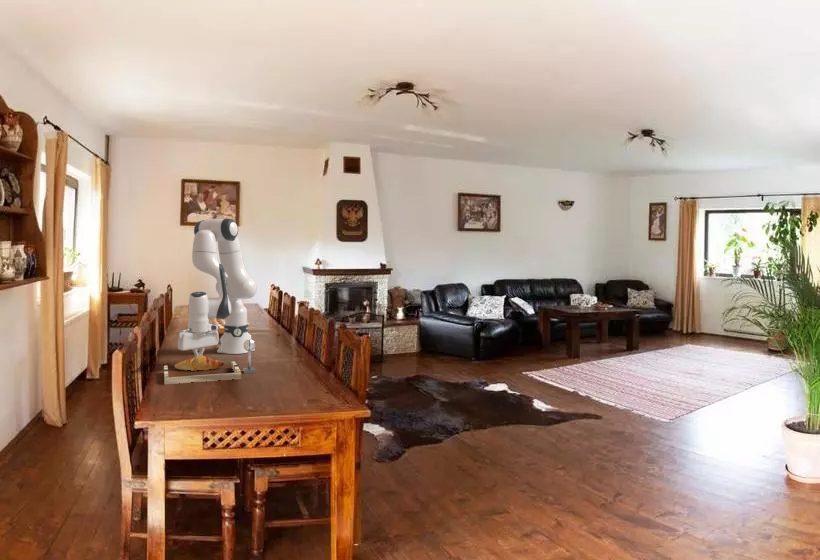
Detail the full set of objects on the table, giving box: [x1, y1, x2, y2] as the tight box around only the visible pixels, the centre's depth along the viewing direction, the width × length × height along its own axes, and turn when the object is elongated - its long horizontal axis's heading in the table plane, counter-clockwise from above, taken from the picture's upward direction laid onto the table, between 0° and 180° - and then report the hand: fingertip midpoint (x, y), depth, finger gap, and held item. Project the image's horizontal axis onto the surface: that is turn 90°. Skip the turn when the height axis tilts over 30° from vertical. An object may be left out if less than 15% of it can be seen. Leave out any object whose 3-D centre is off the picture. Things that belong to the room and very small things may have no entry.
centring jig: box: [163, 361, 242, 385], centre depth 249 cm, size 22×30×4 cm
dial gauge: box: [242, 339, 257, 374], centre depth 258 cm, size 5×5×14 cm
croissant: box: [173, 354, 225, 372], centre depth 261 cm, size 21×10×8 cm
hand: (198, 357), depth 267 cm, fingers closed
